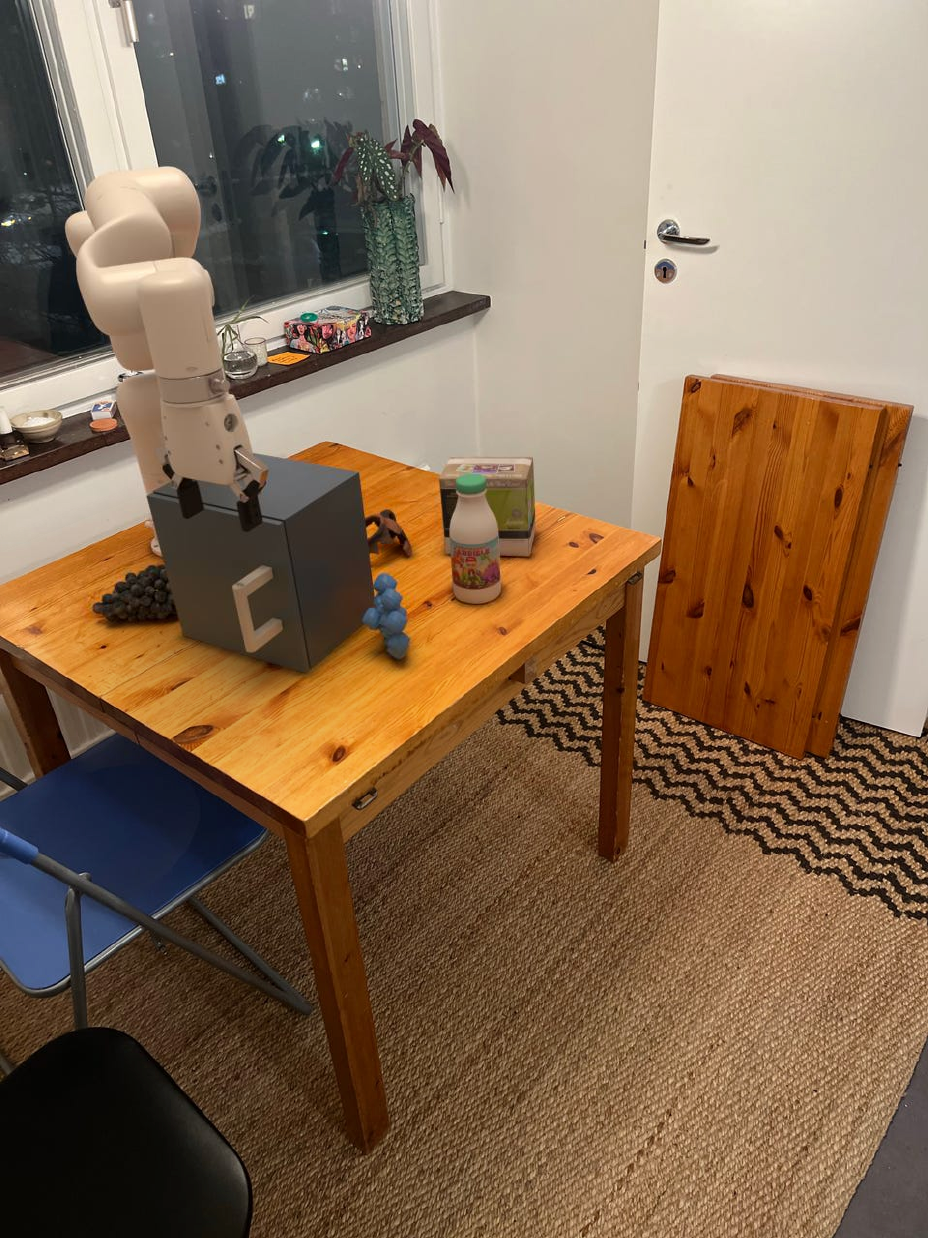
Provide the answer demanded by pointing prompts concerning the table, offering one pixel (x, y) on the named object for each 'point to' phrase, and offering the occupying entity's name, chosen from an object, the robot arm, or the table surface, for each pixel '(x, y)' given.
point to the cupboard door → (231, 582)
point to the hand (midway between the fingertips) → (222, 520)
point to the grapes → (388, 616)
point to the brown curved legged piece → (386, 531)
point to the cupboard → (314, 543)
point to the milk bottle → (474, 543)
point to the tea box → (496, 498)
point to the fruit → (139, 597)
